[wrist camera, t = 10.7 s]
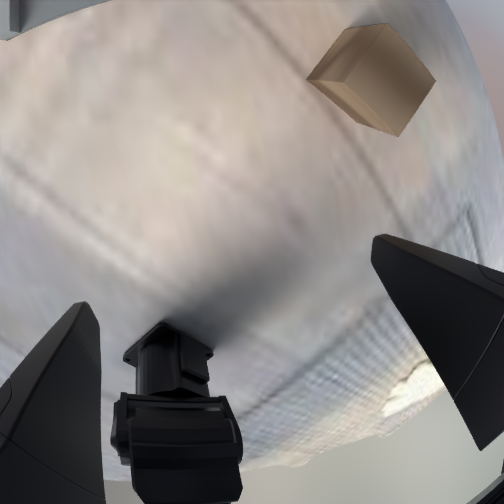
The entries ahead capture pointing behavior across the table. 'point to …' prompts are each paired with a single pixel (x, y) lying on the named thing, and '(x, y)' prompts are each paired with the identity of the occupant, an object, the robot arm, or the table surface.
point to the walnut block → (373, 77)
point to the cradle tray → (35, 13)
